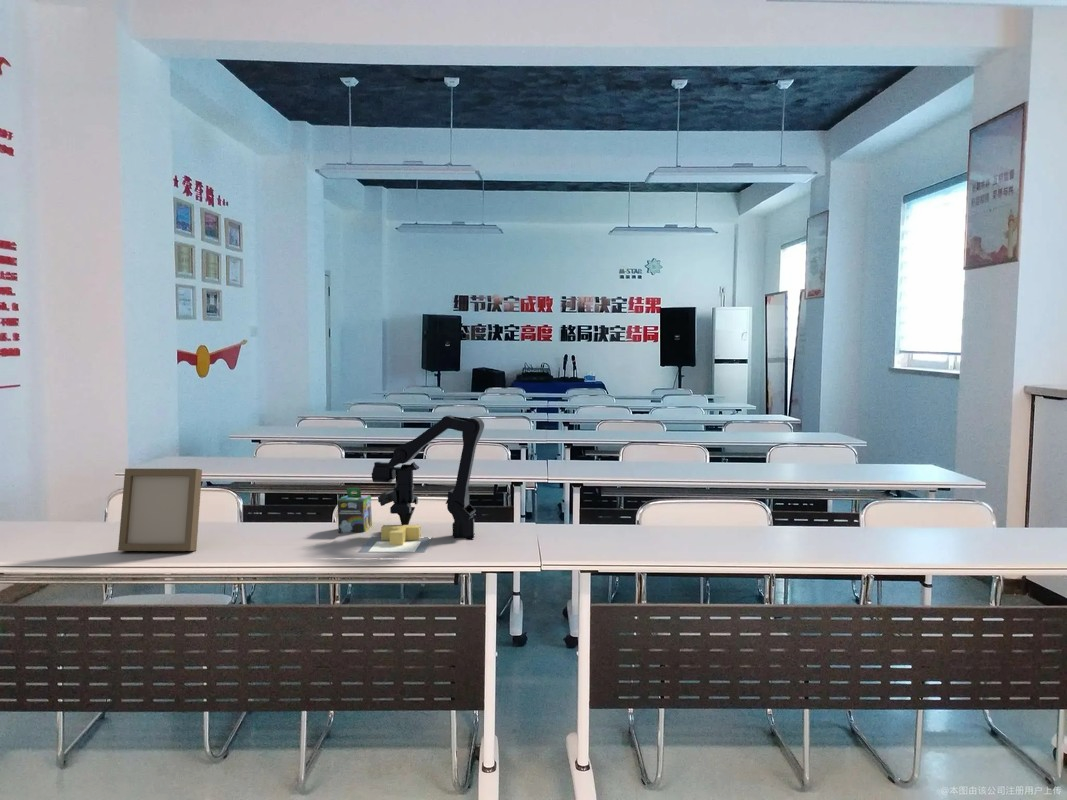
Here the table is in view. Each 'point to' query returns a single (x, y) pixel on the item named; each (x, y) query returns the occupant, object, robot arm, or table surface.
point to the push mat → (395, 546)
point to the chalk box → (354, 512)
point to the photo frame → (160, 510)
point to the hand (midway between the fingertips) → (404, 530)
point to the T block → (400, 533)
